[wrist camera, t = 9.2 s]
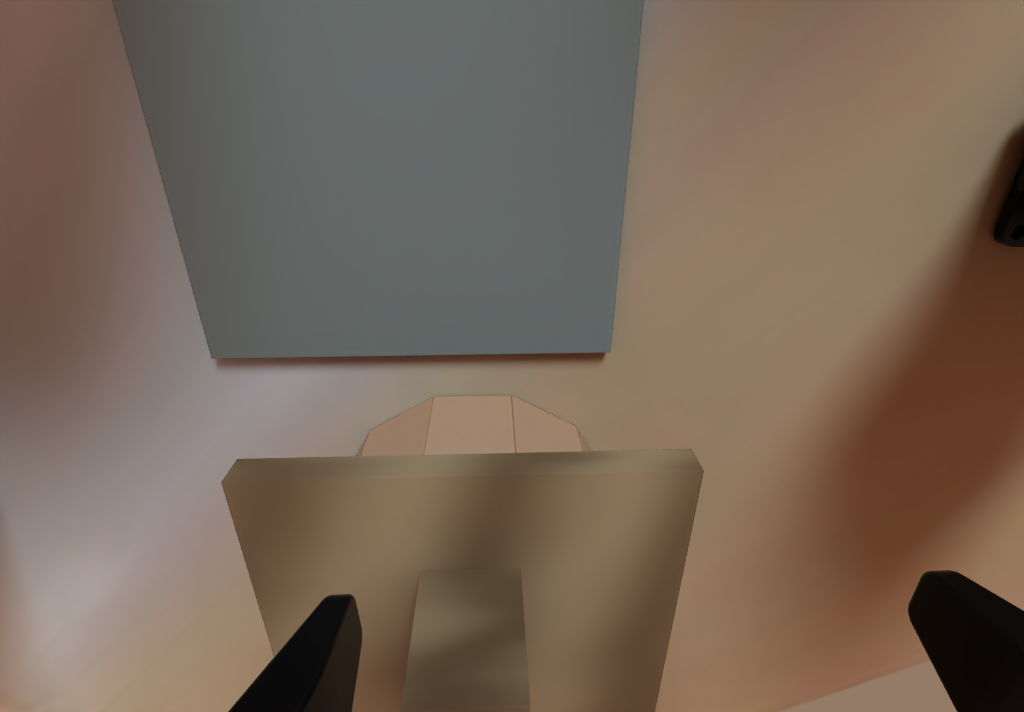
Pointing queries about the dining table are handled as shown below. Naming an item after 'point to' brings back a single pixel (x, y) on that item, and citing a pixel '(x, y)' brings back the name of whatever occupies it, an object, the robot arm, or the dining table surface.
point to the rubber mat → (392, 169)
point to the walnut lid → (479, 570)
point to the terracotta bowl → (472, 429)
